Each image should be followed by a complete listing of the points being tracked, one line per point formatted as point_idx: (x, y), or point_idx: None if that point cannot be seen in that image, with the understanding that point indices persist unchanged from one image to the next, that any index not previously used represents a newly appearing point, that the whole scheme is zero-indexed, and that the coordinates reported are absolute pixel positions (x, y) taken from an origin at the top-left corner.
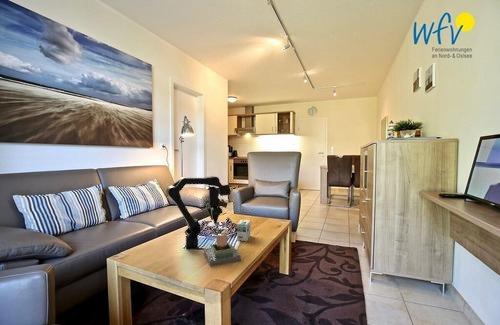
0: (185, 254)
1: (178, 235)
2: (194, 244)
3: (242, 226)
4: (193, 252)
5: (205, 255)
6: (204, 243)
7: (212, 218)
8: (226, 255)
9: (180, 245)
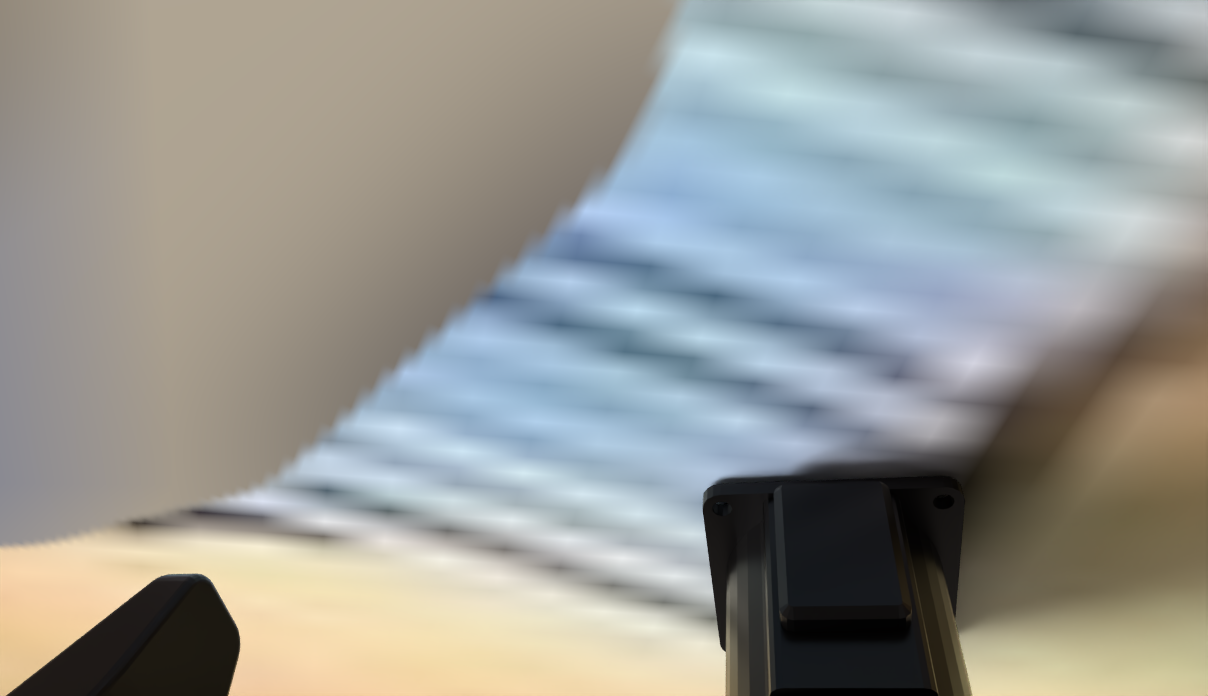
0: (1183, 664)
1: None
2: (940, 583)
3: None
4: (1172, 557)
5: None
6: (725, 320)
7: (179, 660)
8: None
9: (692, 690)
